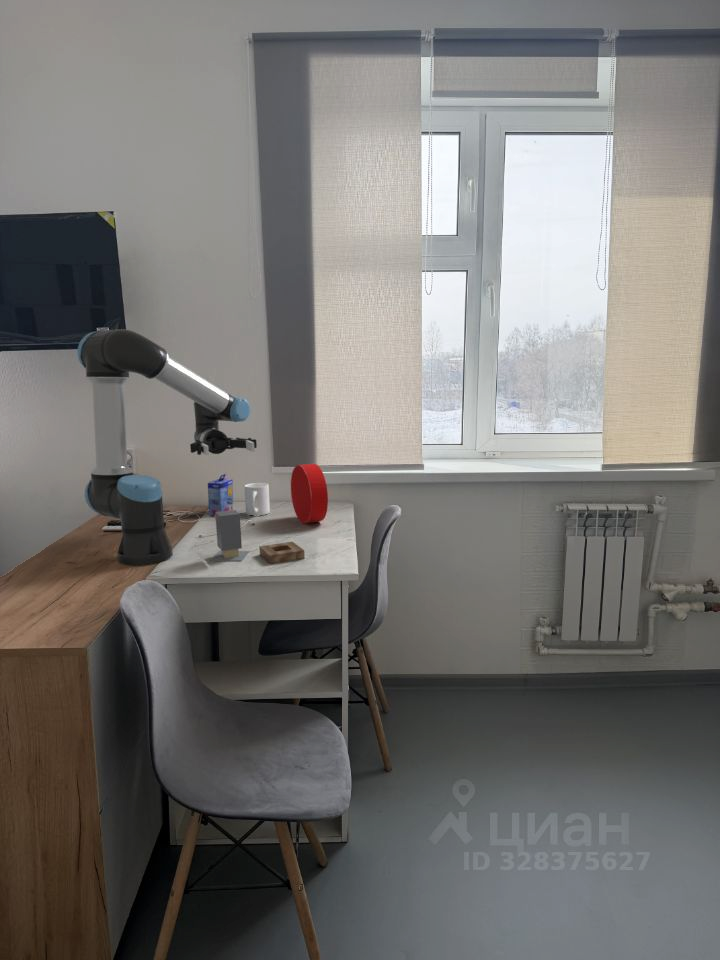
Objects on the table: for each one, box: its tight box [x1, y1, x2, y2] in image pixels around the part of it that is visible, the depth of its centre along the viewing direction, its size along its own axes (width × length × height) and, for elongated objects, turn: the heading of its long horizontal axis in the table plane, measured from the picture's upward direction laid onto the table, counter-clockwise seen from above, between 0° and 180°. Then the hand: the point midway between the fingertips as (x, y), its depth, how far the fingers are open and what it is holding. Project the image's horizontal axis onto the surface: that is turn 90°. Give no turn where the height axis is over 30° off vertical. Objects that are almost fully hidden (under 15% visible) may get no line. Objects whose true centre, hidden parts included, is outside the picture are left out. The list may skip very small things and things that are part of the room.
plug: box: [214, 509, 243, 558], centre depth 189 cm, size 6×6×12 cm
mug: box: [244, 482, 271, 517], centre depth 240 cm, size 9×12×11 cm
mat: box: [209, 550, 250, 562], centre depth 190 cm, size 9×9×1 cm
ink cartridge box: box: [207, 473, 234, 516], centre depth 244 cm, size 10×6×14 cm, turn 163°
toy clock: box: [290, 463, 329, 524], centre depth 228 cm, size 20×6×20 cm, turn 25°
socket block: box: [259, 541, 306, 565], centre depth 188 cm, size 10×10×3 cm
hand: (230, 448), depth 195 cm, fingers open, 13 cm apart
